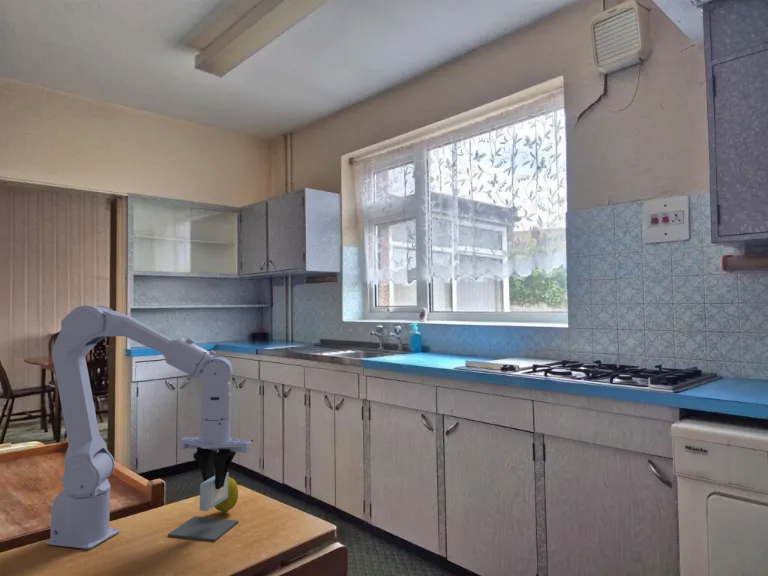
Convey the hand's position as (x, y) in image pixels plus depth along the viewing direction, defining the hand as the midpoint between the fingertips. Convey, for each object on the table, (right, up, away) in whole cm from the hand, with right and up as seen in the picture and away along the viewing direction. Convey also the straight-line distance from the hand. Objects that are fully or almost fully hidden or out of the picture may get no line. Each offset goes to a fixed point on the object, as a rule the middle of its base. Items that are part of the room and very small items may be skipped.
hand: (214, 487), depth 103 cm
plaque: (0, -3, 0) cm, 3 cm away
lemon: (0, -9, +8) cm, 12 cm away
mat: (-2, -8, 0) cm, 9 cm away
